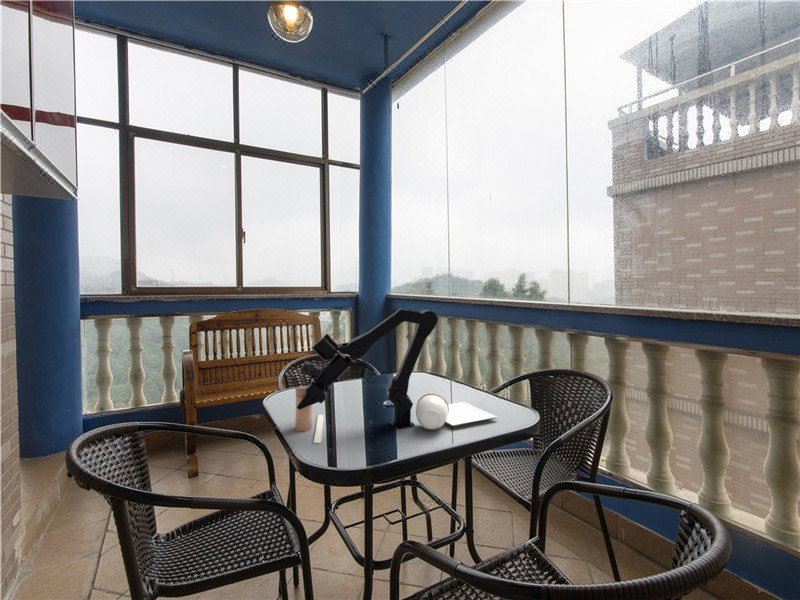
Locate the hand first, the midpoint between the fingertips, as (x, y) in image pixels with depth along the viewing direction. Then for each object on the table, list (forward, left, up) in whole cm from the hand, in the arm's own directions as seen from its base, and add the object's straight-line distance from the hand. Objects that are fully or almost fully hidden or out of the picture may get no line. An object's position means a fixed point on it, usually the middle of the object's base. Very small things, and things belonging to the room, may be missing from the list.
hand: (298, 405), depth 125 cm
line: (-2, -6, -7) cm, 10 cm away
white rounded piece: (-22, -36, -3) cm, 42 cm away
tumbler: (0, -1, -8) cm, 8 cm away
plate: (-12, -53, -8) cm, 55 cm away
